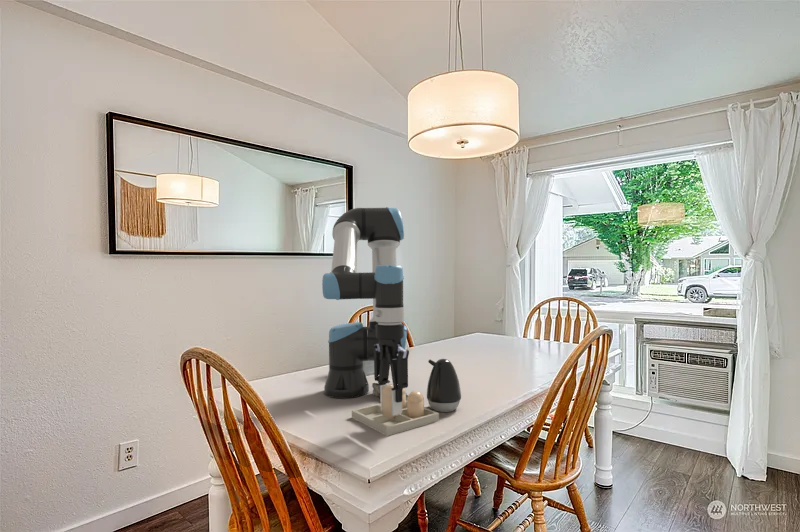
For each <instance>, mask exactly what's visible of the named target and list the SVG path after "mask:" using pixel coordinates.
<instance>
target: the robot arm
mask: <svg viewBox="0 0 800 532" xmlns="http://www.w3.org/2000/svg"><path fill="white" fill-rule="evenodd" d="M331 235H332V238H333V240H334V243H333V250H332V261H331V269H330V270H331V272H329V273H324V274H323V275H322V284H321V285H322V295H323V296H322V297H323V298H324V299H325V300H326V299H327V300H337V301H340V300H358V299H359V300H370V299H372V311H373V312H372V317H371V319H370V320H368V326H364V324H363V323H362V322H360V321H358V322H348V323H343V324H338V325H335V326H333V327H331V328H330V329H329V331H328V340H327V341H328V363H329V364H328V374H327V377H326V380H325V384H324V387H323V389H324V391H323V392H324V393H325V394H324V393H323V394H324V395H325V396H327V397H330V398H335V399H349V398H350V399H351V398H357V397H361V396H364V395H367V394H368V393H369V392H370V391H369V389H370V387H369V386H370V385H369V382H368V378H367V375H365V372H364V369H363V361H374V374H373V375H374V381H375V382H377V383H378V384H379V385H380V397H379V398H380V399H379V401H380V403H379V404H380V408H381V410H382V390H383V388H384V387H385V386H386V385H389V384H391V381H390V380H389V376H390V373H391V379H392V384H393V387H394V388H391V389H392V415H397V414H401V413H402V390H403V388H404V389H407V388H408V387H409V376H408V375H409V364H408V363H409V362H408V361H409V355H410V351H409V349H406V346H407V334H408V333H407V331H408V327H407V326H406V325H405V324H403V322H404V321H405V312H404V311H405V307H404V279H405V278H404V269H403V267H402V265H400V264H397V248H398V247H399V246H400V245H401V241H403V240H404V239H405V231H404V222H403V218H402V213H401V211H400V209H399V208H397V207H396V208H395V207H356V208H352V209H349V210H348V211H345V212H344V213H343V214H342V215H340V217H338V219H337V220H336V221H335V223H334V224H333V227H332V234H331ZM358 241H367V246H368V247H369V248H370V249H371V256H372V257H371V259H372V260H371V261H372V262H371V263H372V267H371V268H372V272H357V270H358V269H357V266H358ZM367 330H368V336H367Z"/></svg>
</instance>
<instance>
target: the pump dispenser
mask: <svg viewBox="0 0 800 532" xmlns="http://www.w3.org/2000/svg"><path fill="white" fill-rule="evenodd" d="M428 364H430V365H431V366H432V369H431V372H430V375H429V377H428V380H427V381H428V382H427V388H426V399H427V401H428V405H429V406H430V408H431V410H432V411H435V412H437V413H451V412H453V411H455V410H456V409H457V408H458V407H459V406H460V403H461V399H462V392H461V386H460V385H461V384H460V380H459V377H458V374H457V370H456V369H455V367H454V365H453V363H452V362H451V361H450V360H449V359H447V358H440V359H438V360H436V362H435V361H433V360H432V359H428Z"/></svg>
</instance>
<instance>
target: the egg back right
mask: <svg viewBox="0 0 800 532" xmlns="http://www.w3.org/2000/svg"><path fill="white" fill-rule="evenodd" d="M407 395H408V397H407V416H408V417H410V418H412V419H415V418H419V417H423V416H424V408H425V400H424V395H423V393H421V392H420V391H418V390H413V391H411V392H410V393H408V394H407Z"/></svg>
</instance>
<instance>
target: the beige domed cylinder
mask: <svg viewBox="0 0 800 532" xmlns="http://www.w3.org/2000/svg"><path fill="white" fill-rule="evenodd" d="M406 394H407V393H406V388H403V390H402V409H405V408H406Z"/></svg>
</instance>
